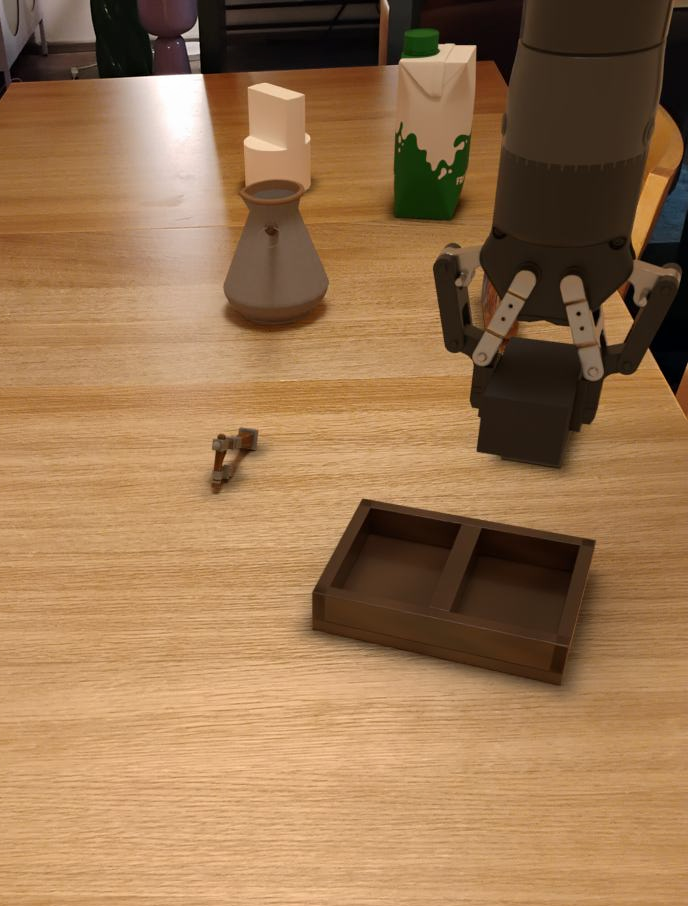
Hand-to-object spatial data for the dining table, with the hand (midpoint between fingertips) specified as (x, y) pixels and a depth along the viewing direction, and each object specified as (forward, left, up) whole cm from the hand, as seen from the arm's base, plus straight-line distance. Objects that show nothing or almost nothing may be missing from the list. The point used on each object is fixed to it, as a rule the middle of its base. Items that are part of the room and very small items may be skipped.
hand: (530, 417), depth 65 cm
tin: (+9, -44, -15) cm, 48 cm away
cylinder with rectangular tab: (+46, -77, -15) cm, 91 cm away
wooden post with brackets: (+25, -10, -15) cm, 31 cm away
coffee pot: (+31, -36, -15) cm, 50 cm away
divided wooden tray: (+3, +2, -15) cm, 15 cm away
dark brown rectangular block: (0, 0, -1) cm, 1 cm away
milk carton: (+24, -73, -15) cm, 79 cm away
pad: (+1, -22, -15) cm, 27 cm away
